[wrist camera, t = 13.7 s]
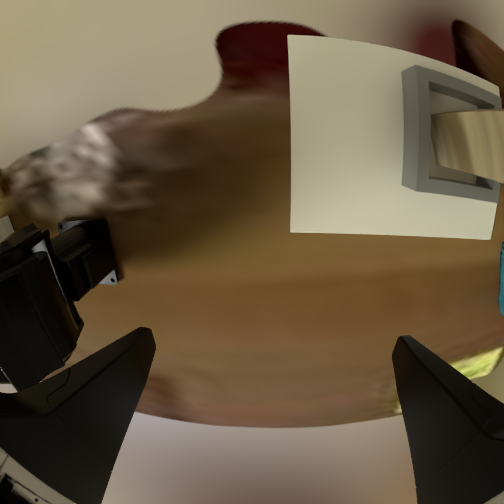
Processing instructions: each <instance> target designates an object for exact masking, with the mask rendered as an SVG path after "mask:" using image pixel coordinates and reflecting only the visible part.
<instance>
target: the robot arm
mask: <svg viewBox="0 0 504 504" xmlns="http://www.w3.org/2000/svg"><path fill="white" fill-rule="evenodd" d="M101 222H102V223H103V226H102V225H101ZM62 226H63V227H62ZM58 230H59V235H57V236H55V237H54V238H52V239H50V237H49V235H50V233H49V230H48V228H47V229H44V230H41V229H39V228H37V227H36V226H35V225H34V224H33V223H32V224H29V225H27V226H25V227H23V228H21V229H19V230H17V231H15V232H14V233H12V234H11V235H9V236H8V237H7V238H5V239H4V240H3V241H1V242H0V384H12V385H13V387H14V388H15V389H16V390H17V392H16V393H1V392H0V504H74V503H75V504H101V503H102V500H103V497H104V493H105V490H106V488H107V485H108V482H109V479H110V476H111V473H112V472H111V471H112V470H113V467H114V464H115V461H116V459H117V456H118V453H119V451H120V447H121V445H122V442H123V440H124V437H125V435H126V432H127V429H128V427H129V424H130V421H131V419H132V417H133V414H134V412H135V409H136V407H137V404H138V402H139V399H140V397H141V394H142V392H143V389H144V387H145V384H146V381H147V378H148V375H149V371H150V368H151V364H152V361H153V357H154V354H155V351H156V344H155V340H154V337H153V334H152V330H151V329H150V328H146V327H139V328H137V329H135V330H134V331H132V332H130V333H129V334H127V335H125V336H123V337H122V338H120V339H118V340H116V341H115V342H113V343H111V344H109V345H108V346H106V347H104V348H102V349H101V350H99V351H97V352H95V353H94V354H92V355H90V356H88V357H87V358H85V359H83V360H81V361H80V362H78V363H76V364H74V365H73V366H71V368H70V367H69V368H67V369H65V370H64V371H62V372H60V373H58V374H56V375H54V376H53V377H50V378H48V379H46V380H44V381H42V382H40V381H41V380H42V379H44V378H45V377H46V376H47V375H49V374H50V373H52V372H53V371H55V370H57V369H59V368H61V367H63V366H64V365H65V362H66V361H67V360H68V359H69V358H70V356H71V354H72V352H73V351H74V350H75V348H76V346H77V340H78V338H79V335H80V333H81V331H82V328H83V326H84V322H83V320H82V318H80V316H79V314H78V312H77V309H76V307H75V305H74V302H75V301H79V300H80V299H81V298H82V297H83V296H84V295H86V294H87V293H88V292H89V291H90V290H91V289H93V288H95V287H96V286H97V285H98V284H110V285H116V284H117V283H118V282H119V277H118V273H117V268H116V263H115V258H114V254H113V249H112V244H111V240H110V235H109V229H108V223H107V221H106V220H105V219H104V218H97V219H81V220H66V221H61V222H59V223H58ZM113 278H114V279H115V280H113ZM392 361H393V367H394V373H395V379H396V386H397V393H398V397H399V401H400V405H401V409H402V414H403V418H404V422H405V427H406V432H407V436H408V441H409V446H410V452H411V458H412V464H413V470H414V477H415V484H416V487H417V488H416V493H417V503H418V504H504V404H503V403H502V402H500V401H499V400H497V399H496V398H494V397H492V396H491V395H489V394H488V393H487V392H485V391H484V390H483V389H481V388H480V387H478V386H477V385H476V384H474V383H472V381H471V380H469V379H468V378H467V377H465V376H464V375H463V374H461V373H460V372H459V371H457V370H456V369H455V368H453V367H452V366H451V365H449V364H448V363H447V362H445V361H444V360H443V359H441V358H440V357H439V356H437V355H436V354H434V353H433V352H432V351H430V350H429V349H428V348H426V347H425V346H424V345H422V344H421V343H419V342H418V341H417V340H415V339H414V338H413V337H411V336H409V335H404V336H399V337H398V339H397V342H396V345H395V347H394V350H393V353H392ZM39 382H40V383H39Z"/></svg>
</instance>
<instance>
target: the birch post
mask: <svg viewBox="0 0 504 504" xmlns="http://www.w3.org/2000/svg"><path fill="white" fill-rule="evenodd" d="M431 139H432V144H433V148H434V153H435V157H436V162H437V165H440V166H444V167H448V168H452V169H456V170H460V171H464V172H467V173H471V174H474V175H478V176H481V177H484V178H488V179H491V180H494V181H497V182H500V183H503V184H504V109H477V110H460V111H452V112H444V113H437V114H431Z"/></svg>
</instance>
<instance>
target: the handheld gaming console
mask: <svg viewBox="0 0 504 504" xmlns="http://www.w3.org/2000/svg"><path fill="white" fill-rule="evenodd" d="M498 303H499V309H500V310H501V311H500V313H501V314H502V315H503V316H504V242H503V243H502V253H500V283H499V297H498Z"/></svg>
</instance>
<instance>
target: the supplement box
mask: <svg viewBox="0 0 504 504" xmlns="http://www.w3.org/2000/svg"><path fill="white" fill-rule="evenodd" d="M12 233H14V229H13V227H12V224H11V221H10V219H9V216H8V215H7V216H5V217H3V218H1V219H0V242H1V241H3V240H4V239H5V238H7V237H8V236H9V235H11V234H12Z"/></svg>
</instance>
